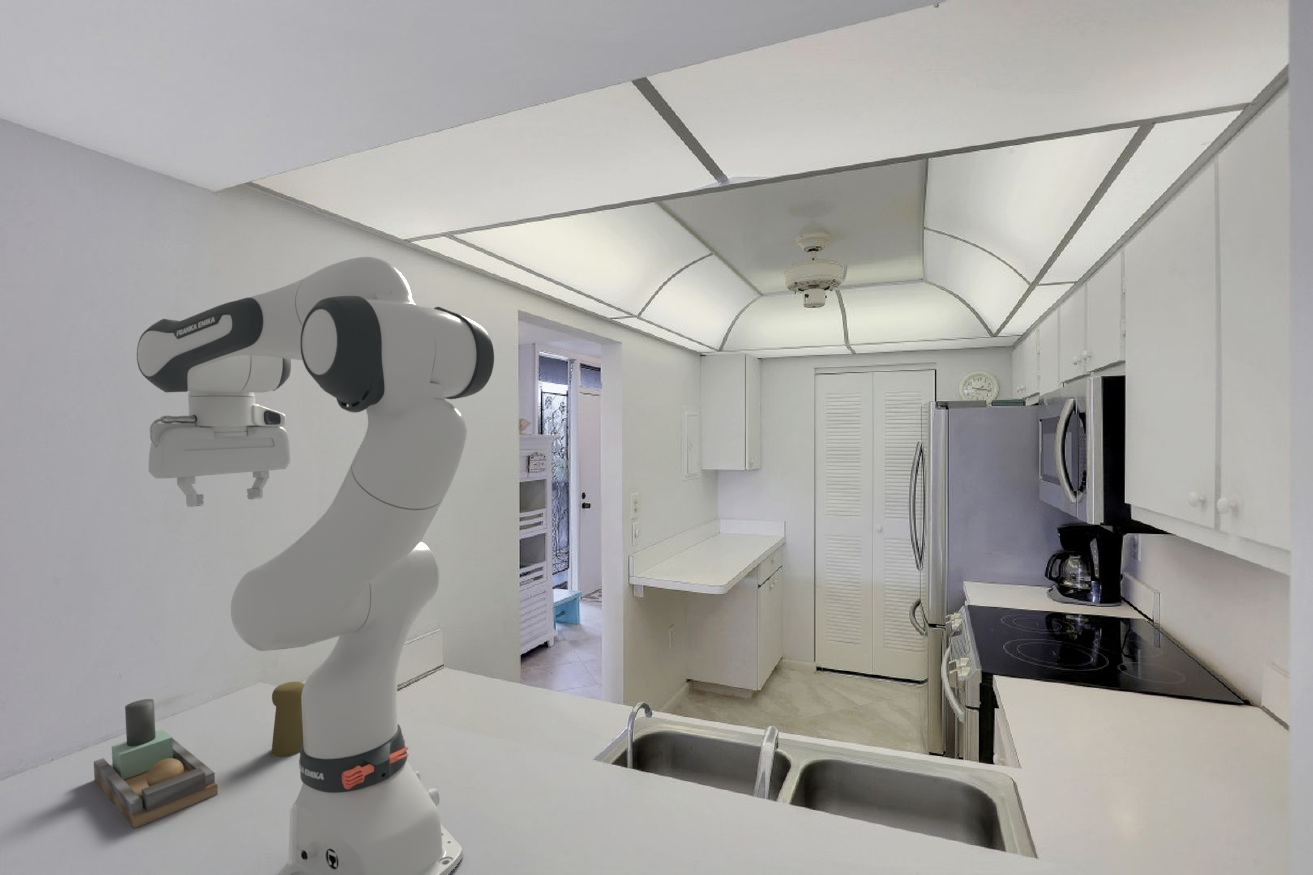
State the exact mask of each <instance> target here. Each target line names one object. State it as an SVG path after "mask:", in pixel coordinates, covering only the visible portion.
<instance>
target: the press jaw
mask: <svg viewBox="0 0 1313 875" xmlns="http://www.w3.org/2000/svg"><path fill="white" fill-rule="evenodd" d="M124 710H125V711H124V714H125V733H126V734H125V735H126V741H123V742H119V743H115V744H113V745H111V759H112V761H111V762H112V764H113V769H114V770H115V771H116V772H117V773H118V775H119V776H120V777H121V778H122V779H123V780H124V779H127V778H130V777H132V776H135V775H138V774H141V773H144V772H146V771H149V770H150V769H151V768H152V767H153V766H154V765H155V764H156V763H157V762H159V761H161V760H163V759H167V758H173V743H172V738H173V737H172V736H171V735H170V734H169V733H168V732H166V731H165V730H164V729H159V730H156V720H155V719H156V718H155V700H154V699H153V698H146V699H141V700H135V701H133V702H129V703H128V704H126V705H125V706H124ZM112 764H111V765H112Z"/></svg>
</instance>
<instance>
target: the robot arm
mask: <svg viewBox="0 0 1313 875" xmlns="http://www.w3.org/2000/svg"><path fill="white" fill-rule="evenodd" d="M411 291H412V290H411V289H410V286H409V283H408V281H407V279H406V278H405V276H403V274H402V273H401V272H400V270H398V269H397V268H396V267H395V266H394V265H392V264H391V263H389V262H387V261H386V260H384V259H381V258H377V257H373V256H359V257H354V258H349V259H345V260H343V261H342V260H341V261H338V262H335V263H333V264H329V265H327V266H324V267H322V268H321V269H318V270H317V271H315V272H313V273H311V274H309V275H308V276H306V277H303V278H302V279H300V280H296V281H295V282H293V283H289V284H288V285H285V286H281V287H279V288H276V289H273V290H270V291H266V292H263V293H259V294H256V295H252V296H249V297H245V298H241V299H240V298H239V299H237V300H236V299H235V300H233V301H229V302H225V303H223V304H219V305H217V306H215V307H212V308H209V309H207V310H204V311H201V312H199V313H197V314H195V315H192V316H189V317H187V318H184V319H183V320H176V319H175V320H174V319H167V318H162V319H160V320H158V321H156V322H155V323H153V324H151V325H150V326H149V327H148V328H146V329H145V330H144V332H143V333H141V335H140V337H139V339H138V342H137V348H136V363H137V367H138V370H139V371H140V373H141V375H142V376H143V377H144V378H145V379H146V380H147V381H149V382H150V383H151V384H152V385H153V386H155V387H156V388H157V389H159V390H161V391H163V392H164V393H187V392H188V395H187V396H188V415H177V416H176V415H175V416H173V415H161V416H160V417H159V418H157V419H155V420H154V421H153V422H152V423H151V424H150V426H149V439H150V441H151V442H150V447H149V453H148V472H149V474H150V475H151V476H152V477H153V478H155V479H175V478H176V485H177V486H178V488H179V489H180V490H181V491H182V493H183V494H184V495H185V502H186V506H187V507H188V508H193V507H194V508H195V507H202V506H204V502H205V501H204V494H203V493H198V492H197V491H196V489H195V488H194V486H193V485H195V484H196V477H202V476H213V475H214V476H215V475H226V474H227V475H228V474H240V473H241V474H242V473H252V478H255V480H254V482H253V485H252V486H251V488H247V489H246V492H247V495H246V497H247V499H248V500H259V499H260V500H261V499H263V497H264V491H263V489H264V488H265V485H266V484H267V481H268V480H269V478H270V471H277V470H286V469H287V468H288V467H289V464H290V463H291V448H290V447H291V445H290V439H289V434H288V432H287V430H286V429H285V428H284V427H283V426H285V425H286V422H287V416H286V415H285V414H284V413H283V412H280V411H277V410H274V409H272V408H271V409H270V408H268V407H265V406H263V405H260V404H257V403H256V394H255V393H261V394H262V393H267V392H268V393H269V392H271V391H272V392H275V391H276V390H278V389H280V388H281V387H282V386H283V385H284V384H285V383H286V381H287V380H288V379H289V378H290V375H291V370H292V360H297V361H299V360H300V361H302V362H303V365H304V367H305V369H306V371H307V373H308V374H309V375H310V376H311V377H312V379H313V380H314V381H315V382H316V383H317V385H318V386H319V387H320V389H322V391H324V392H326V393H327V394H329V395H331V397H334V398H336V402H337V404H338V406H339V407H340V409H343V410H345V411H346V412H349V413H360V412H363V411H366V415H367V428H366V429H367V430H366V431H365V433H364V434H365V435H364V436H363V439H362V441H361V444H360V445H359V448H358V449H357V451H356V453H355V455H354V458H353V460H352V462H351V464H350V466H349V468H348V471H347V473H346V474H345V476H344V479H343V481H342V483H341V484H340V487H339V489H338V491H337V493H336V495H335V497H334V499H333V501H332V503H331V504H330V505H329V507H328V508H327V510H325V512H324V514H323V515H322V516H321V517H320V518H319V519H318V520H317V521H316V522H315V523H314V524H313V525H312V526H311V527H310V528H309V529H308V530H307V531H306V532H305V533H304V534H302V535H301V536H300V537H299V538H298V539H297V540H296V541H294V542H293V543H292V544H291V545H289V547H286V549H284V550H283V551H282V552H280V553H279V554H277V555H275V556H274V557H273V558H271V559H270V560H267V561H265V562H264V563H262V564H260V565H259V566H257V567H255V568H253V569H251V570H248V571H247V572H246V573H245V574H244V575H243V576H242V577H241V579H240V580H239V581H238V583H237V585H236V587H235V589H234V591H233V595H232V597H231V601H230V619H231V622H232V625H233V627H234V629H235V632H236V633H237V634H238V636H239V637H240V638H241V639H242V641H244V643H245V644H247V645H248V646H250V647H251V648H253V649H255V650H256V651H259V652H265V651H278V650H279V651H280V650H287V649H296V648H304V647H307V646H310V645H314V644H317V643H320V642H324V641H327V640H329V639H334V638H336V637H338V639H337V641H336V643H335V646H334V647H333V649H332V651H331V652H330V654H329V655H328V656H327V657H326V658H325V660H323V662H322V663H321V664H319V665H318V666H317V667H316V668H315V669H314V670H313V671H312V672H311V673H310V674H309V676H308V677H307V679H306V680H305V683H304V688H303V691H302V696H301V700H302V722H303V746H302V747H301V750H300V752H299V760H298V768H299V771H300V776H299V777H300V780H301V782H302V784H301V788H300V790H299V793H298V796H297V797H296V799H295V801H294V803H293V804H292V807H291V808H290V812H289V831H288V832H289V835H288V863H287V865H286V866H284V868H283V869H282V870H281V871H280V872H279V873H278V875H447V874H449V873H450V872H451V871H452V870H453V869H454V870H455V869H456V868H457V867H456V866H458V865H459V864H460V863H459V862H461V861H462V859H463V857H464V851H463V847H462V846H461V845H460V843H459V842H458V841H457V840H456V839H455V838H454V836H452V835H451V833H449V831H448V830H447V829H446V828H445V827H444V826H443V825H442V824H441V819H440V818H441V817H440V813H439V810H438V808H437V807H438V806H439V805H440V794H439V792H438V790H437V788H435V787H431V788H429V789H427V790H426V788H425V787H424V785H423V783H422V782H421V774H420V772H419V771H418V770H415V771H414V770H413V768H412V767H411V765H410V763H409V761H407V760H408V756H409V754H408V752H407V751H408V750H409V747H408V746H406V745H405V744H406V739H405V737H404V735H403V732H402V729H401V726H400V724H399V723H398V674H399V666H400V661H401V657H402V654H403V650H404V647H405V645H406V641H407V640H408V637H409V634H410V632H411V630H412V627H413V626H414V624H415V622H416V621H417V618H419V616H420V614H421V613H422V611H423V610H424V609H425V607H426V606H427V605H429V603H430V602H431V601H432V600H433V599H434V597H435V595H436V593H437V591H438V588H439V582H440V567H439V563H438V560H437V558H436V555H435V554H434V553H433V551H432V550H431V549H430V548H429V546H427V544H426V543H424V542H422V541H423V538H424V536H425V534H426V532H427V530H428V528H429V526H431V523H432V521H433V519H434V518H435V516H436V514H437V512H438V510H439V508H440V506H441V505H442V502H443V500H444V499H445V497H446V496H447V493H448V491H449V488H450V487H451V484H452V482H453V480H454V477H455V475H456V472H457V471H458V467H459V464H460V461H461V458H462V455H463V451H464V448H465V443H466V439H467V424H466V421H465V420H464V416H463V415H462V414H461V412H460V411H459V410H458V409H457V407H456V406H454V404H452V403H450V402H449V401H448V400H457V399H460V398H461V399H462V398H466V397H470V396H472V395H474V394H476V393H479V392H480V391H482V390H483V389H484V387H485V386H486V385H487V384H488V382H489V380H490V379H491V376H492V374H493V370H494V364H495V351H494V345H493V342H492V340H491V339H492V338H491V337H490V334H488V332H487V330H485V328H484V327H483V326H481V325H480V324H478V323H477V322H475V321H473V320H472V319H470V318H468V317H465V316H464V315H462V314H458V313H456V312H453V311H451V310H448V309H445V308H443V307H440V306H436V307H434V308H431V307H425V306H420V305H417V304H416V303H415V302H414V300H413V298H412V296H413V295H412V292H411ZM460 860H461V861H460ZM458 863H459V864H458ZM457 864H458V865H457ZM455 867H456V868H455ZM454 870H453V871H454ZM453 871H452V872H453ZM452 872H451V873H452ZM451 873H450V874H451ZM450 874H449V875H450Z"/></svg>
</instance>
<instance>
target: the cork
mask: <svg viewBox="0 0 1313 875" xmlns="http://www.w3.org/2000/svg"><path fill="white" fill-rule="evenodd" d="M304 685H305V683H303V682H301V681H289V682H285V683H282V684H280V685H278V686H277V687H275V688H274V689H273V690H272V694H271V701H272V705H274V706H275V713H274V721H273V722H274V724H273V732H272V742H271V743H272V744H271V755H272V756H276V757H286V756H292V755H295V754H298V753H299V754H300V750H301V747H302V746H303V722H302V700H301V696H302V691H303V688H304Z"/></svg>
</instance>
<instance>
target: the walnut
mask: <svg viewBox="0 0 1313 875" xmlns="http://www.w3.org/2000/svg"><path fill="white" fill-rule="evenodd" d="M183 773H184V767H183V765H182V763H181V762H180V761H179V760H177V759H173V758H167V759H163V760H161V761H159V762H157V763H156V764H155V765H154V766H153V767H152V768H151V769H150V771H149V772H148V775H147V784H148V786H152V785H155V784H157V783H160V782H162V781H165V780H168V779H170V778H173V777H176V776H178V775H181V774H183Z"/></svg>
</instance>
